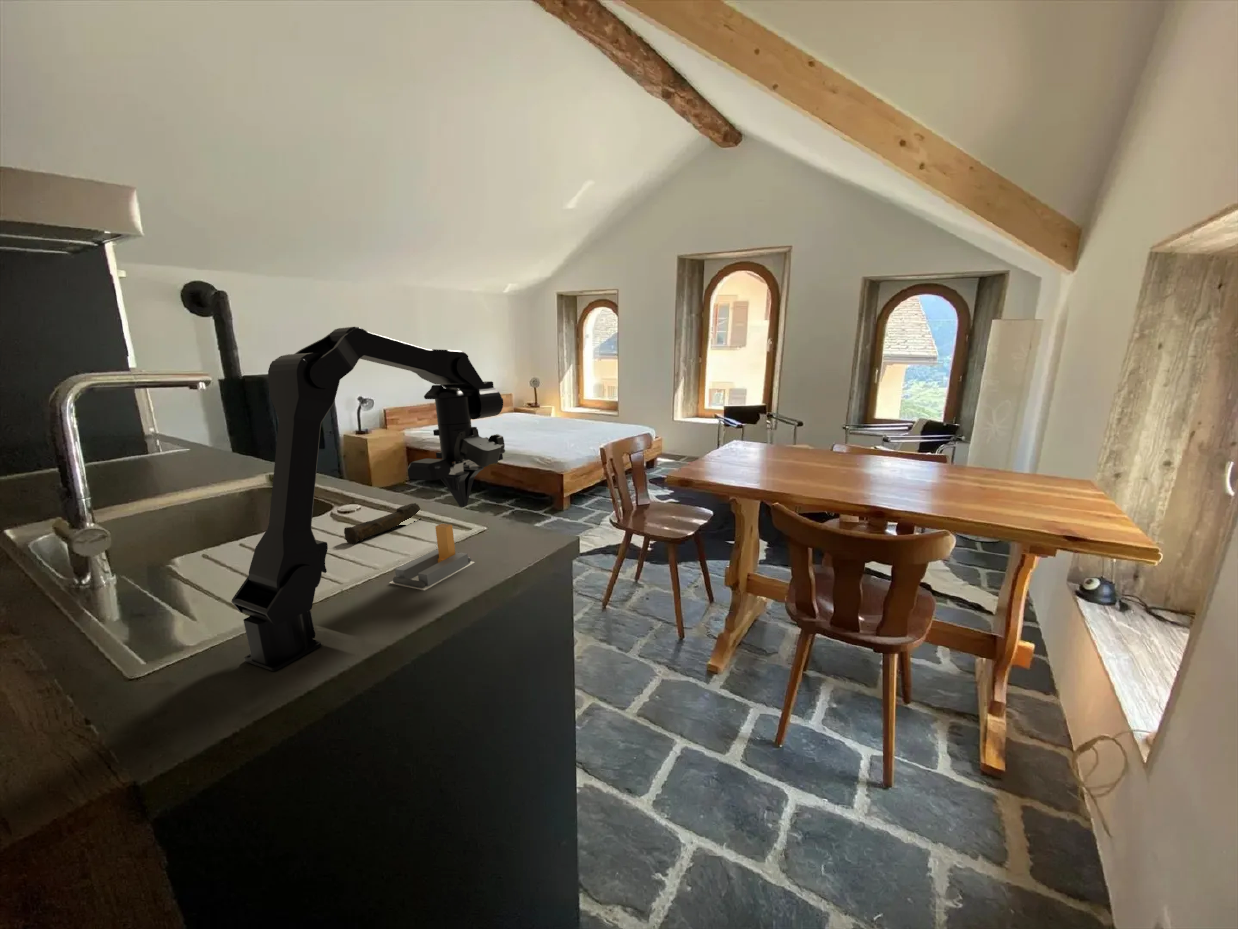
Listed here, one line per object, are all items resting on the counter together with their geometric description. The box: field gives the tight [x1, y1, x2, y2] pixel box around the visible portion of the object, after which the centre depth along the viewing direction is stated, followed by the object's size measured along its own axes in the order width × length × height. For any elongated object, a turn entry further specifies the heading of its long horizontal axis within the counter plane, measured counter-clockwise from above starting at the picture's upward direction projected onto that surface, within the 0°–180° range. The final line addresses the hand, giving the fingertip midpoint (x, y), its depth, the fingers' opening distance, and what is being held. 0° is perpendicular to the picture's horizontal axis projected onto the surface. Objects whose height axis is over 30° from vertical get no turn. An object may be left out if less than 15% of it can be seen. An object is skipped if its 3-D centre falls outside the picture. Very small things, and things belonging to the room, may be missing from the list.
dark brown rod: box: [343, 502, 421, 545], centre depth 117 cm, size 19×4×5 cm, turn 148°
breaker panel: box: [388, 548, 476, 591], centre depth 89 cm, size 12×8×4 cm, turn 155°
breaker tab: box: [435, 523, 456, 563], centre depth 91 cm, size 2×2×7 cm
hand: (463, 506), depth 95 cm, fingers closed
